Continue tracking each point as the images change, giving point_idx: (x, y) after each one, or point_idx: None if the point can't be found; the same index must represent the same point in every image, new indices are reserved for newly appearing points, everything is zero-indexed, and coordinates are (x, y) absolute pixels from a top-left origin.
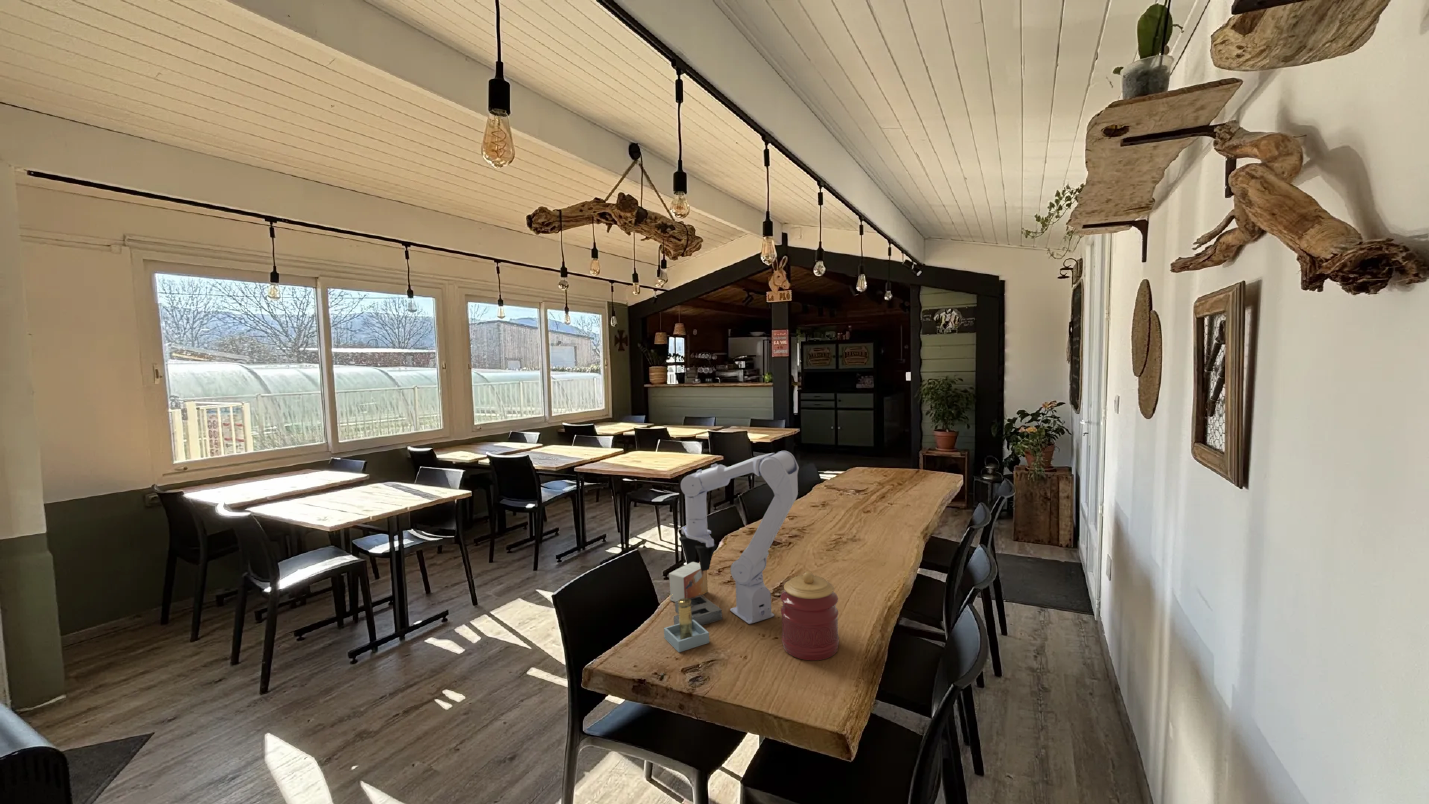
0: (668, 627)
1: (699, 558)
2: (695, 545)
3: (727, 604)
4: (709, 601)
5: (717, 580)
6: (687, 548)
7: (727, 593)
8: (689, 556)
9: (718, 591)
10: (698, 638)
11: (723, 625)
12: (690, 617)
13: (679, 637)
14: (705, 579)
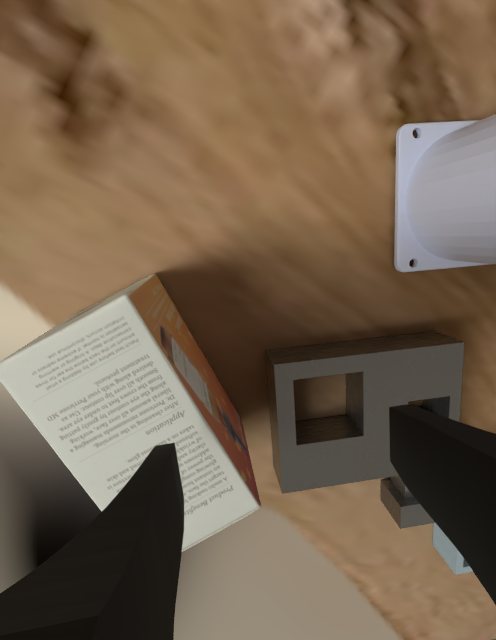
0: (462, 561)
1: (475, 564)
2: (146, 549)
3: (330, 249)
4: (364, 359)
5: (19, 153)
6: (168, 635)
7: (219, 189)
8: (178, 531)
9: (172, 220)
10: None
11: (476, 345)
12: None
13: None
14: (155, 299)
